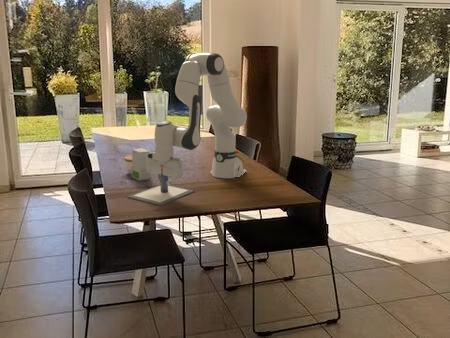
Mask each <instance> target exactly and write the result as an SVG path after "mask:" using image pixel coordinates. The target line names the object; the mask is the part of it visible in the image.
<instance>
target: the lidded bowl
mask: <svg viewBox="0 0 450 338" xmlns="http://www.w3.org/2000/svg"><path fill="white" fill-rule="evenodd" d="M123 160H124V166H125V167H124V168H125V169H126V171H127V172H128V173H129V174H130V175H132V154H131V155H130V154H129V155H126V156H124V158H123Z"/></svg>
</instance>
